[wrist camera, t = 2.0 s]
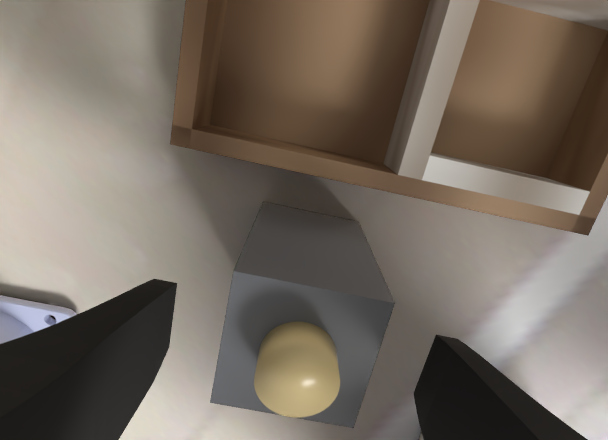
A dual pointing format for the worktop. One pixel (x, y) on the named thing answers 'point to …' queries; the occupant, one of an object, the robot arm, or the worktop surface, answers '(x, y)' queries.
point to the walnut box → (409, 97)
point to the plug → (302, 318)
